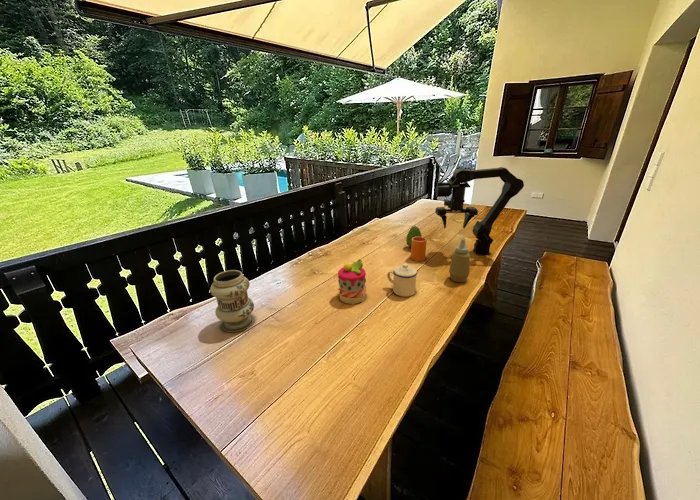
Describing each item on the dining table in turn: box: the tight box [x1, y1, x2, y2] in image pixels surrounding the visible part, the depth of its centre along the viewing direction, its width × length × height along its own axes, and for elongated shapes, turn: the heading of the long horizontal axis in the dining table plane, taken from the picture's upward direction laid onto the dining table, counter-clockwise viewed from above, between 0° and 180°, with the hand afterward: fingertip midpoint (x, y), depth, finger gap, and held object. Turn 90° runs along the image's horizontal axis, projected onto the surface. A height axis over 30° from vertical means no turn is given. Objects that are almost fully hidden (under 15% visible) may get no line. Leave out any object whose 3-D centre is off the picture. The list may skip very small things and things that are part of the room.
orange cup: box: [410, 236, 428, 262], centre depth 145 cm, size 7×7×10 cm
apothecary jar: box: [209, 269, 255, 333], centre depth 97 cm, size 12×12×18 cm
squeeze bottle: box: [448, 238, 471, 283], centre depth 122 cm, size 8×8×18 cm
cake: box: [337, 258, 367, 305], centre depth 112 cm, size 10×11×15 cm
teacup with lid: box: [386, 263, 418, 297], centre depth 116 cm, size 12×9×12 cm
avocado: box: [405, 225, 423, 248], centre depth 157 cm, size 8×8×12 cm
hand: (454, 228), depth 147 cm, fingers open, 9 cm apart
